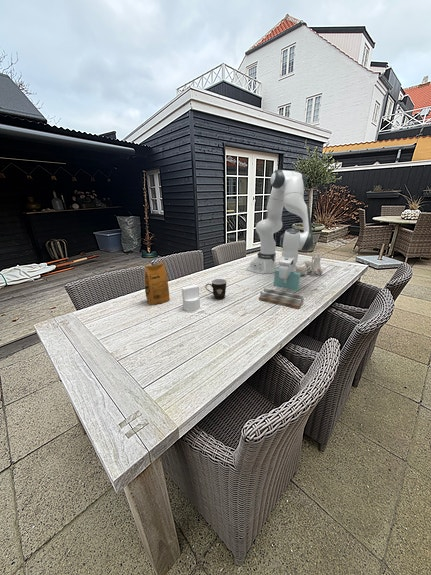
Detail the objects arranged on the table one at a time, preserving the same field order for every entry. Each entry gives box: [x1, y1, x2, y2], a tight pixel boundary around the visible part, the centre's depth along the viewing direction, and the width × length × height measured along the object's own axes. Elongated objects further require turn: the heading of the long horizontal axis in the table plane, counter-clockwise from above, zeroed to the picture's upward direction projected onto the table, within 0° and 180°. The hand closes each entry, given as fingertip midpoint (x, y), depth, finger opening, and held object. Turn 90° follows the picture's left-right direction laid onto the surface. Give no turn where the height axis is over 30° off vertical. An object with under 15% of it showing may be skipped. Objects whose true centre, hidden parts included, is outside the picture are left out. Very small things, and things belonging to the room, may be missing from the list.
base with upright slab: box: [181, 284, 201, 312], centre depth 120 cm, size 9×9×12 cm
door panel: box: [273, 268, 301, 292], centre depth 133 cm, size 14×3×10 cm, turn 57°
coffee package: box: [144, 262, 171, 306], centre depth 127 cm, size 10×12×22 cm
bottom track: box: [258, 287, 305, 310], centre depth 126 cm, size 22×10×4 cm, turn 58°
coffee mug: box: [204, 278, 228, 301], centre depth 132 cm, size 12×9×10 cm
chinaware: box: [294, 252, 323, 277], centre depth 166 cm, size 28×17×17 cm, turn 143°
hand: (286, 281), depth 134 cm, fingers closed on door panel, 3 cm apart
